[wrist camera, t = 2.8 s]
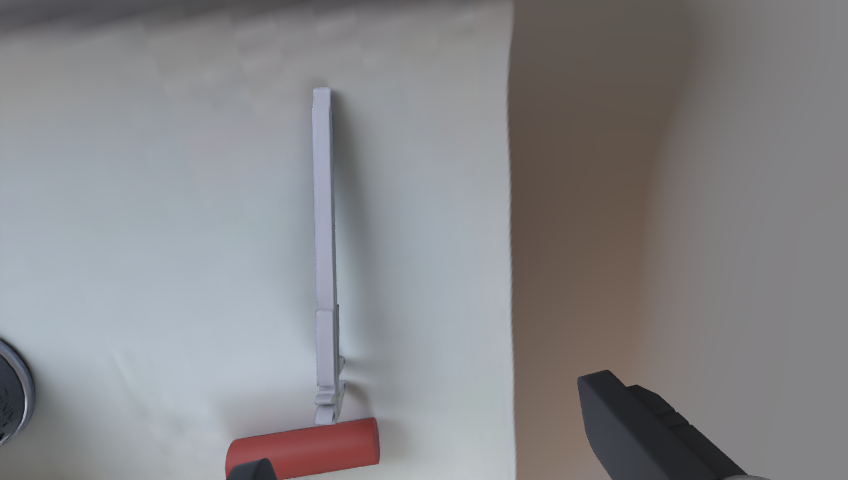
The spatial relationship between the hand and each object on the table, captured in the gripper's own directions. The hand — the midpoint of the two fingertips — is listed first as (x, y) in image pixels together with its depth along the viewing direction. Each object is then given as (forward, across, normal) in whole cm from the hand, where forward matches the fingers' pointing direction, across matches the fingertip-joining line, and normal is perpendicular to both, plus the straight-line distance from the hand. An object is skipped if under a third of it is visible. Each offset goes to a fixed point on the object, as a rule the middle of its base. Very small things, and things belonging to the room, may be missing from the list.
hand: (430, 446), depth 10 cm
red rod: (+18, +10, +11) cm, 23 cm away
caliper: (+18, +5, -2) cm, 19 cm away
